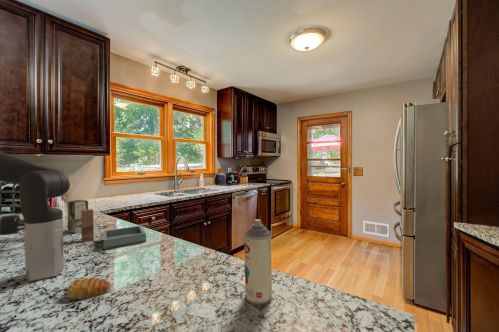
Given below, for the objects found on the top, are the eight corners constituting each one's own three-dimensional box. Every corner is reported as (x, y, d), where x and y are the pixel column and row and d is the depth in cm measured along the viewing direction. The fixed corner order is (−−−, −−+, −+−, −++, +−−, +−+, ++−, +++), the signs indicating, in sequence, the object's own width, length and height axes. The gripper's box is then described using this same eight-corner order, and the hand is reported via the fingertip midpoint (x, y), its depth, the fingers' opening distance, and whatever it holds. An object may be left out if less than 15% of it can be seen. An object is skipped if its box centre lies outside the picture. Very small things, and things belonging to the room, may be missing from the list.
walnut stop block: (93, 240, 105) (92, 210, 105) (81, 242, 102) (81, 211, 102) (93, 238, 109) (93, 209, 108) (82, 239, 106) (81, 210, 106)
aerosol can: (245, 290, 62) (244, 217, 62) (270, 289, 62) (269, 216, 62) (245, 305, 55) (243, 223, 55) (273, 305, 55) (272, 223, 55)
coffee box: (89, 230, 121) (88, 200, 121) (74, 233, 116) (74, 202, 116) (81, 228, 126) (80, 199, 126) (67, 231, 121) (66, 201, 121)
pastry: (114, 284, 66) (113, 271, 66) (104, 298, 60) (104, 283, 60) (77, 288, 64) (77, 275, 64) (63, 303, 58) (63, 288, 58)
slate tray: (146, 242, 102) (145, 233, 102) (103, 250, 93) (103, 240, 93) (140, 233, 115) (140, 225, 115) (103, 239, 106) (103, 230, 106)
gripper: (-6, 220, 84) (52, 214, 93) (7, 213, 96) (57, 208, 105) (-6, 240, 84) (52, 232, 93) (7, 230, 96) (57, 225, 105)
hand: (54, 220), depth 99 cm, fingers open, 8 cm apart
